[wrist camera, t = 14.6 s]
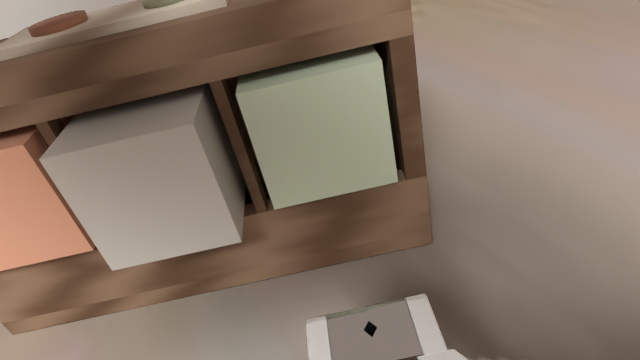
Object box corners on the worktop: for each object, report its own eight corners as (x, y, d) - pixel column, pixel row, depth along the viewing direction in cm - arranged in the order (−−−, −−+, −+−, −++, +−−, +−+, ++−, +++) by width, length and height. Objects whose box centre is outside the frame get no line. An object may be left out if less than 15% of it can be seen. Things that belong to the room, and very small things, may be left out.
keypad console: (12, 334, 26) (-210, 98, 17) (54, 260, 31) (-104, 49, 22) (432, 243, 25) (405, -53, 16) (405, 181, 30) (374, -69, 21)
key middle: (112, 270, 20) (38, 159, 17) (136, 210, 24) (80, 109, 21) (241, 242, 20) (193, 123, 17) (246, 185, 24) (206, 79, 21)
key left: (-24, 276, 22) (-115, 177, 19) (18, 219, 26) (-51, 127, 23) (93, 250, 22) (22, 144, 19) (119, 196, 26) (64, 100, 22)
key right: (274, 209, 22) (235, 94, 18) (273, 160, 25) (241, 58, 22) (398, 181, 21) (381, 60, 18) (379, 136, 25) (362, 29, 22)
